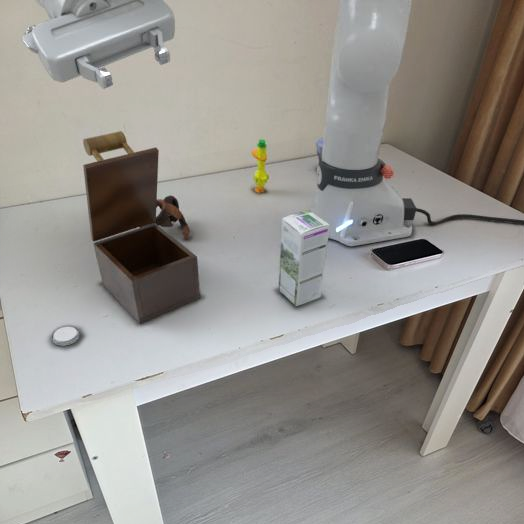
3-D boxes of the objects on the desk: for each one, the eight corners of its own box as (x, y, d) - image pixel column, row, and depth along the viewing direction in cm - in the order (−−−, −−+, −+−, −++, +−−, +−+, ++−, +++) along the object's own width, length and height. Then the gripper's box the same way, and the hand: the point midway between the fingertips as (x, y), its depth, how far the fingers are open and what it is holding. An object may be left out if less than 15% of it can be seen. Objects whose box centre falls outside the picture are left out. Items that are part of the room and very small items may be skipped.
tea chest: (200, 297, 85) (197, 256, 79) (139, 323, 79) (131, 281, 74) (160, 262, 93) (155, 222, 87) (102, 284, 87) (92, 242, 81)
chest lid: (158, 150, 74) (136, 123, 77) (85, 168, 69) (63, 139, 71) (156, 221, 86) (136, 197, 89) (93, 242, 81) (74, 215, 83)
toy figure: (246, 186, 118) (246, 135, 110) (259, 183, 119) (261, 133, 111) (258, 197, 114) (260, 145, 105) (272, 194, 115) (274, 143, 107)
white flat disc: (54, 348, 74) (53, 345, 74) (51, 332, 77) (50, 329, 76) (81, 341, 76) (80, 338, 75) (77, 326, 78) (76, 323, 78)
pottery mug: (189, 249, 97) (165, 220, 91) (152, 261, 101) (126, 234, 95) (198, 208, 103) (176, 178, 97) (163, 221, 107) (139, 193, 101)
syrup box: (322, 297, 86) (332, 223, 76) (294, 308, 83) (301, 232, 73) (303, 281, 89) (310, 208, 79) (276, 291, 87) (280, 216, 77)
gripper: (8, 10, 64) (64, 77, 61) (140, -34, 71) (196, 25, 68) (23, 54, 70) (75, 117, 67) (144, 10, 77) (196, 66, 74)
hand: (137, 70), depth 68 cm, fingers open, 8 cm apart
